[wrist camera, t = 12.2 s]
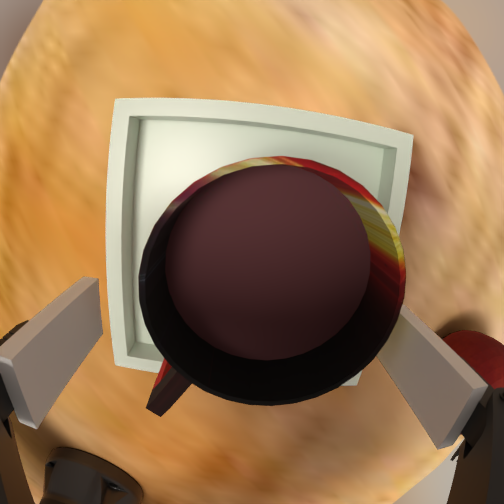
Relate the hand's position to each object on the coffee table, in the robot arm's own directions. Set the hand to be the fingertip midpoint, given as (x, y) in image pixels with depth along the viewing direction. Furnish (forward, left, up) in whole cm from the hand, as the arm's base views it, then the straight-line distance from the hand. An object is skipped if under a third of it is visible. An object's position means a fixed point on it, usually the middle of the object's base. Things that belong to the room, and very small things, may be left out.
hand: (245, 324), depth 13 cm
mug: (+1, 0, -10) cm, 10 cm away
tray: (0, 0, -11) cm, 11 cm away
